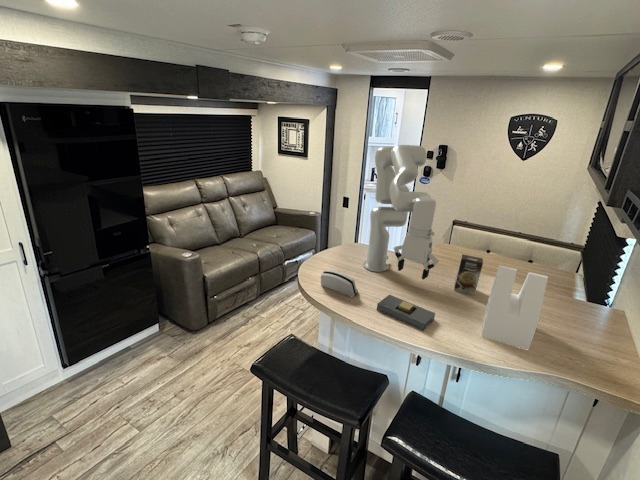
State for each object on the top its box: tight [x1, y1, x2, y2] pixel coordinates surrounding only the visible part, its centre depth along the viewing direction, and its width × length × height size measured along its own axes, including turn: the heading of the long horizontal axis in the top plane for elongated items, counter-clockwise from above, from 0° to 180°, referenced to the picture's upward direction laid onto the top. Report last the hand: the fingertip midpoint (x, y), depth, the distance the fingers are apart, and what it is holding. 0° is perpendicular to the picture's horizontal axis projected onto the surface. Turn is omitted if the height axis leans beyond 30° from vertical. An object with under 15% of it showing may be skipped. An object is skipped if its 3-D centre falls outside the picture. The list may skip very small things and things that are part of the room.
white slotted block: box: [480, 264, 549, 350], centre depth 129 cm, size 19×15×25 cm
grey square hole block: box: [376, 294, 436, 332], centre depth 139 cm, size 10×20×3 cm, turn 51°
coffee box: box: [453, 253, 484, 296], centre depth 159 cm, size 9×6×16 cm
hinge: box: [320, 269, 359, 298], centre depth 153 cm, size 17×5×10 cm, turn 58°
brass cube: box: [398, 300, 415, 315], centre depth 139 cm, size 4×4×4 cm
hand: (412, 273), depth 133 cm, fingers open, 9 cm apart
